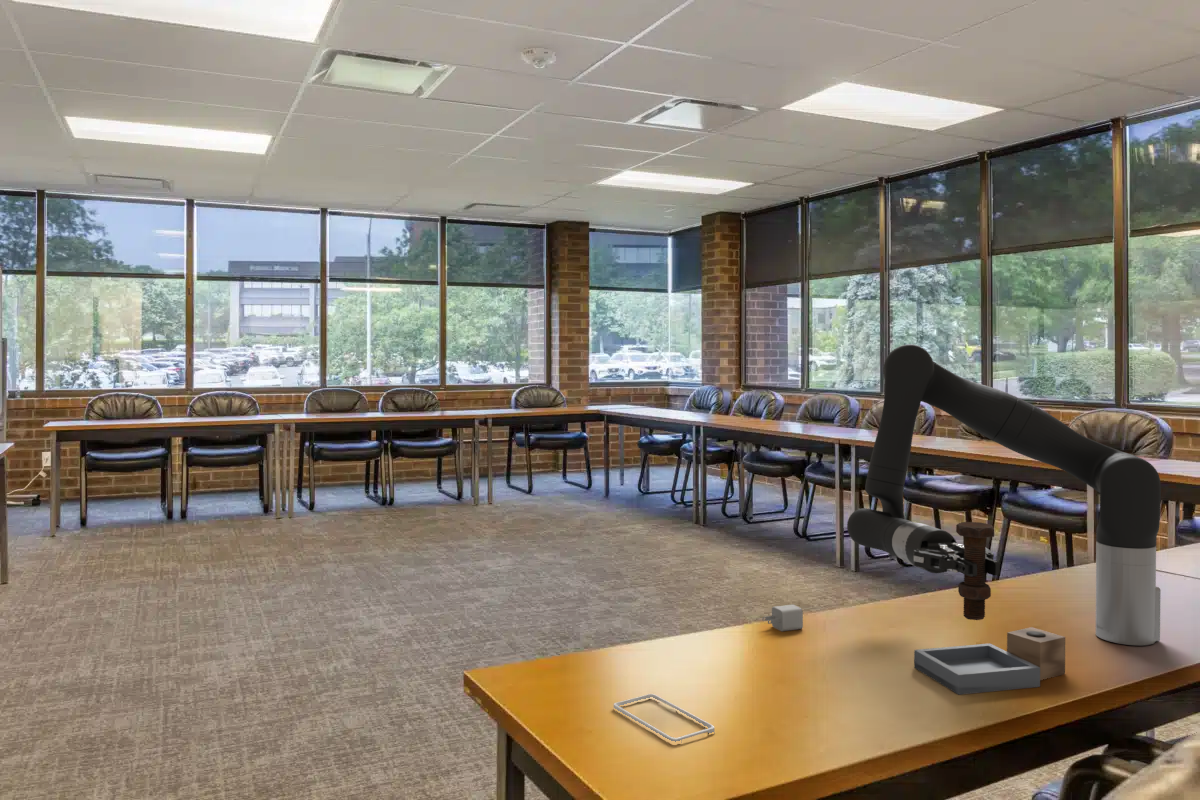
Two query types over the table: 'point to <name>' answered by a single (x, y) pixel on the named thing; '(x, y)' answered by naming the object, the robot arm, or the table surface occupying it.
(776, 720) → the table surface
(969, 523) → the bolt
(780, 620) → the usb wall charger
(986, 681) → the tray
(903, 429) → the robot arm
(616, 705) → the phone case
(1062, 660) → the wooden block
